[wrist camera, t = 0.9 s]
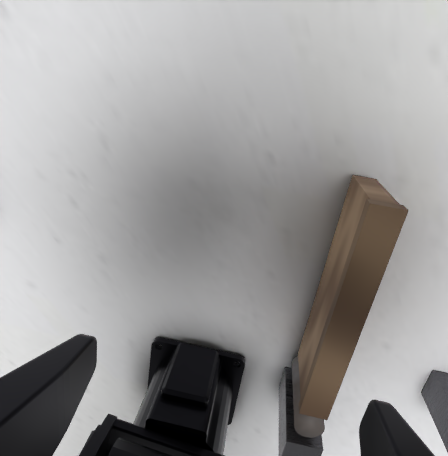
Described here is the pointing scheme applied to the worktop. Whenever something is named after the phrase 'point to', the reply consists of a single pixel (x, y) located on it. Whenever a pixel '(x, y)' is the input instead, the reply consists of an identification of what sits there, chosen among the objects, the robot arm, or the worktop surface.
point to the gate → (343, 299)
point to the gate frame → (312, 447)
